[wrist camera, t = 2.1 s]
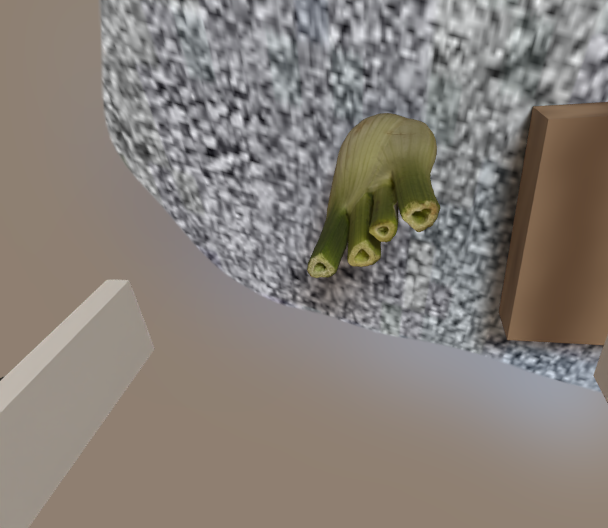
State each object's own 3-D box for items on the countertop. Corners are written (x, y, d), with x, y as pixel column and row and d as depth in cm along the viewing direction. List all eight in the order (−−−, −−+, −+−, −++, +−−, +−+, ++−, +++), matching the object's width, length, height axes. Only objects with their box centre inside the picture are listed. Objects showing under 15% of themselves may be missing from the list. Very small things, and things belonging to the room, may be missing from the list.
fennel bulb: (341, 190, 28) (306, 297, 18) (331, 114, 25) (283, 186, 15) (434, 182, 26) (451, 293, 16) (432, 99, 24) (451, 171, 14)
